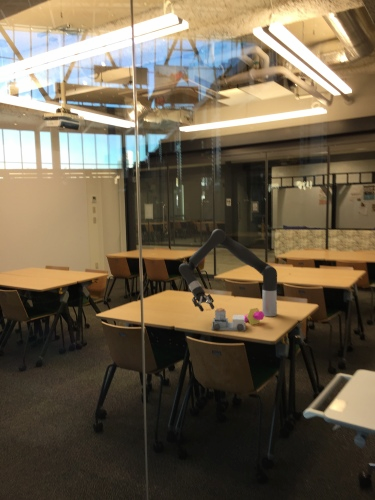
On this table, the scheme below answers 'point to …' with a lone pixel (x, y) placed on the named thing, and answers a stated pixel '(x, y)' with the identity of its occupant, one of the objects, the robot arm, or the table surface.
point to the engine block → (220, 315)
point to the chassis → (230, 324)
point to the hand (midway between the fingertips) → (208, 309)
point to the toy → (254, 316)
